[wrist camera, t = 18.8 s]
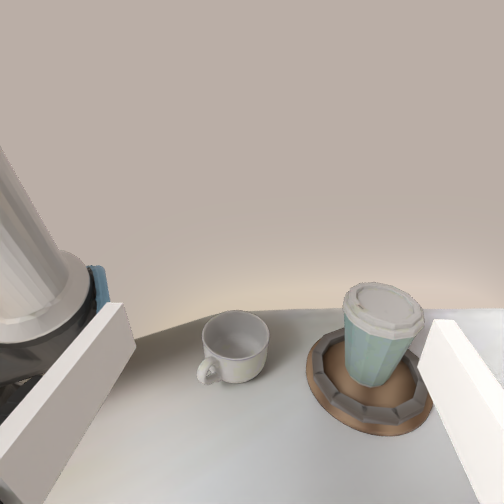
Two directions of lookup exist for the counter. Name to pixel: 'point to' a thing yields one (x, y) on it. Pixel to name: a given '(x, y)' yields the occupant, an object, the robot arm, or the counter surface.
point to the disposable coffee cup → (378, 330)
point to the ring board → (367, 391)
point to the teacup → (233, 347)
